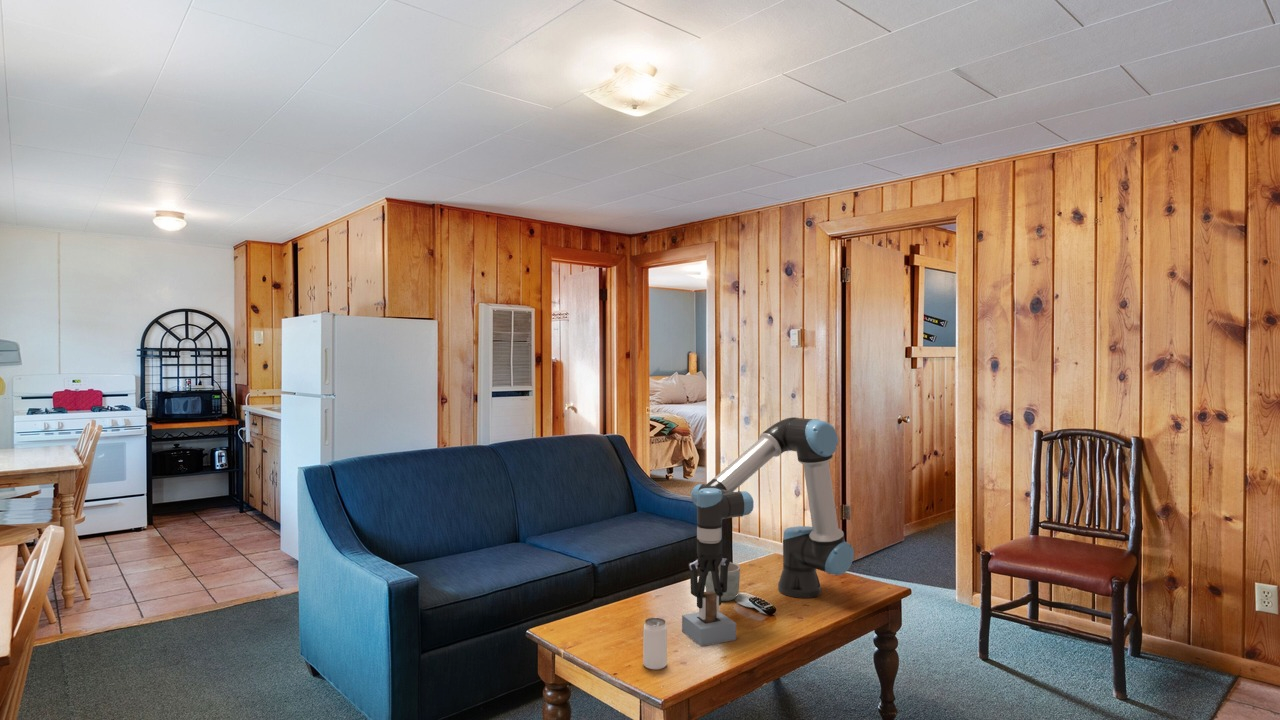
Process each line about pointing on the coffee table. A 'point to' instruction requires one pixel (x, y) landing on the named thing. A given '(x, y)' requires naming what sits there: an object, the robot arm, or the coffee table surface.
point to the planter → (731, 582)
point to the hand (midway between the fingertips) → (708, 616)
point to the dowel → (710, 607)
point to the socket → (708, 629)
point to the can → (655, 644)
